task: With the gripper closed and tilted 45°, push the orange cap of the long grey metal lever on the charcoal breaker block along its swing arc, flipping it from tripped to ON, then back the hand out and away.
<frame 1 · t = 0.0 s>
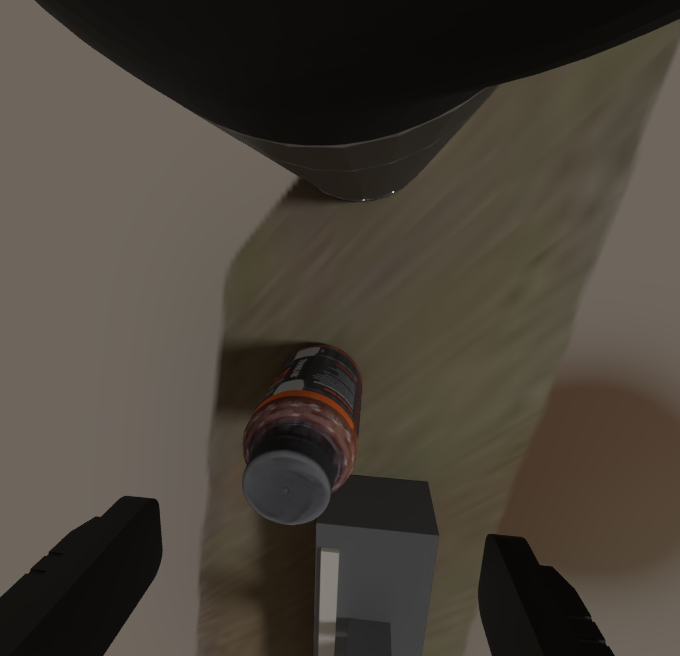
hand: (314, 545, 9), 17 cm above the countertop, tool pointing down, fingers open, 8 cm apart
supplement bottle: (322, 378, 27), on the countertop
breaker block: (368, 583, 31), on the countertop
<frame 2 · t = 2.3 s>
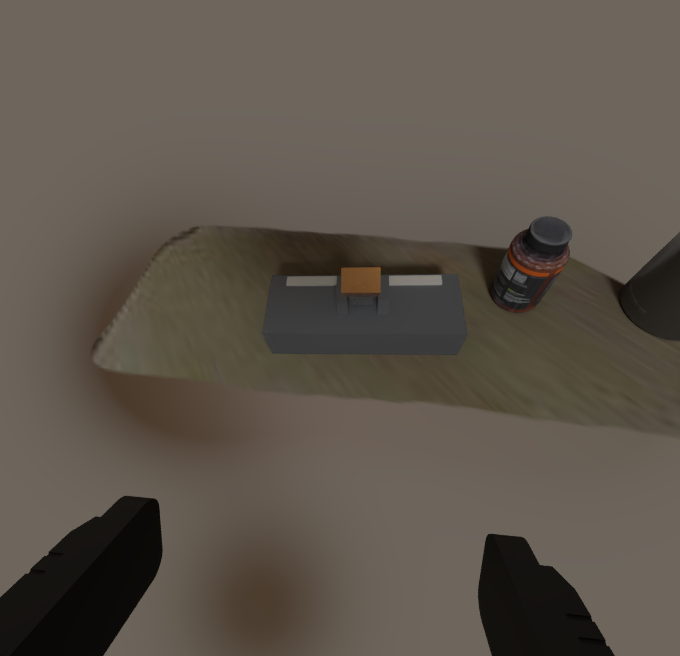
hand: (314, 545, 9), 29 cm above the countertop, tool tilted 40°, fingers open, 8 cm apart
supplement bottle: (512, 295, 46), on the countertop
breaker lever: (362, 290, 33), point 12 cm above the countertop, hinge at -30.0°
breaker block: (363, 325, 45), on the countertop
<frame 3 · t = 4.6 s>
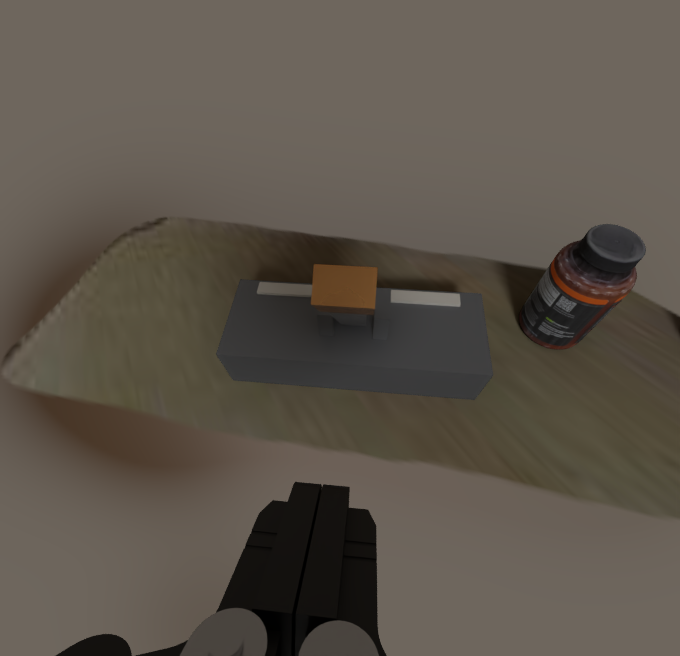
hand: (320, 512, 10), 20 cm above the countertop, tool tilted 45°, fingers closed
supplement bottle: (546, 327, 36), on the countertop
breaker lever: (351, 305, 23), point 12 cm above the countertop, hinge at -30.0°
breaker block: (354, 351, 35), on the countertop
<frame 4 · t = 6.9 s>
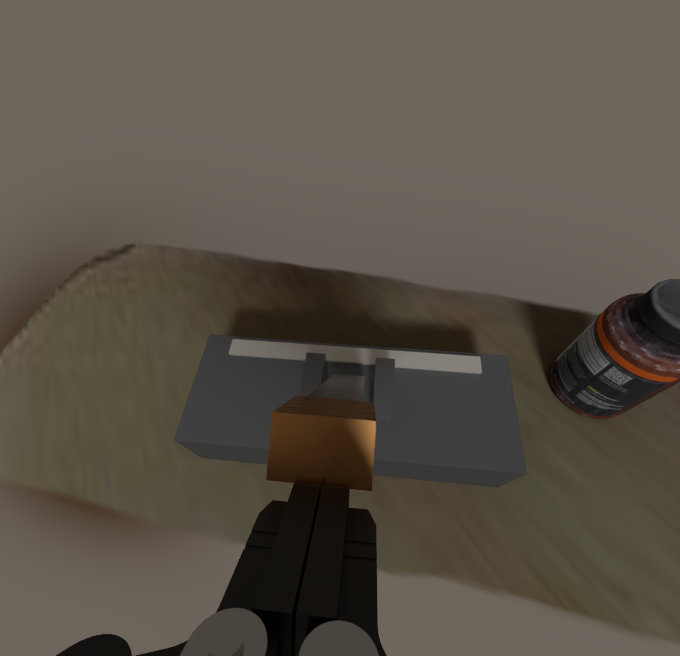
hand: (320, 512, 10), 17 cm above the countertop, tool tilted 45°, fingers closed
supplement bottle: (582, 387, 30), on the countertop
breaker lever: (341, 405, 17), point 12 cm above the countertop, hinge at -29.3°, touching gripper
breaker block: (349, 419, 29), on the countertop
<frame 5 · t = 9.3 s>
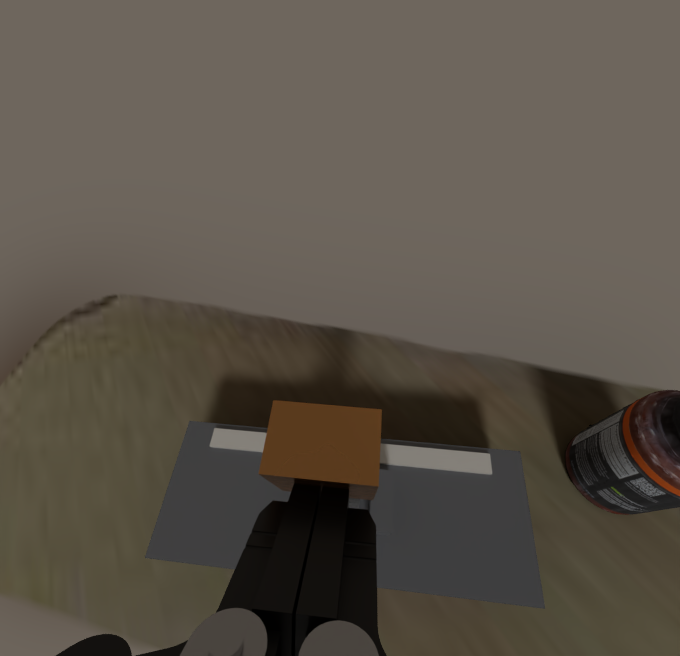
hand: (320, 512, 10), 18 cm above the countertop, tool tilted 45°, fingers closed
supplement bottle: (602, 471, 27), on the countertop
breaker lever: (336, 483, 15), point 13 cm above the countertop, hinge at -1.4°, touching gripper
breaker block: (344, 510, 26), on the countertop
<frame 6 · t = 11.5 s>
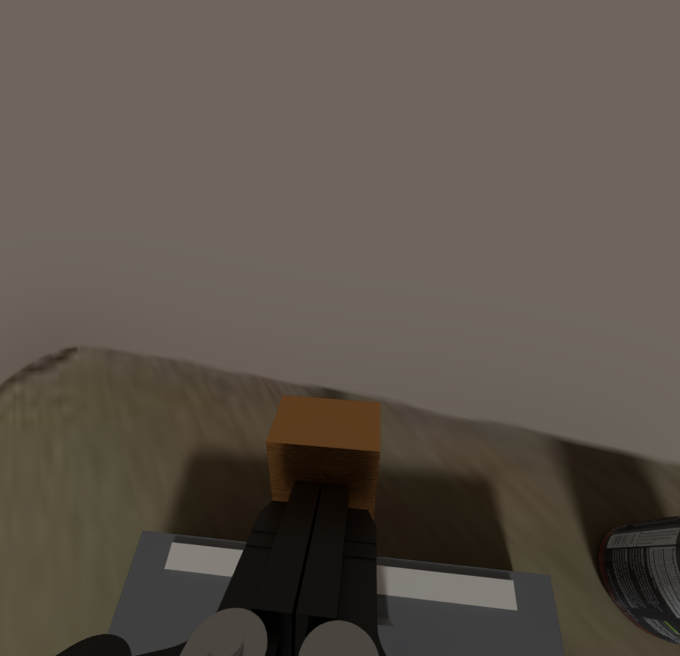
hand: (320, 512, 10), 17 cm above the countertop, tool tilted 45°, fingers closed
supplement bottle: (642, 577, 23), on the countertop
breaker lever: (327, 575, 13), point 12 cm above the countertop, hinge at 28.8°, touching gripper
breaker block: (334, 632, 21), on the countertop
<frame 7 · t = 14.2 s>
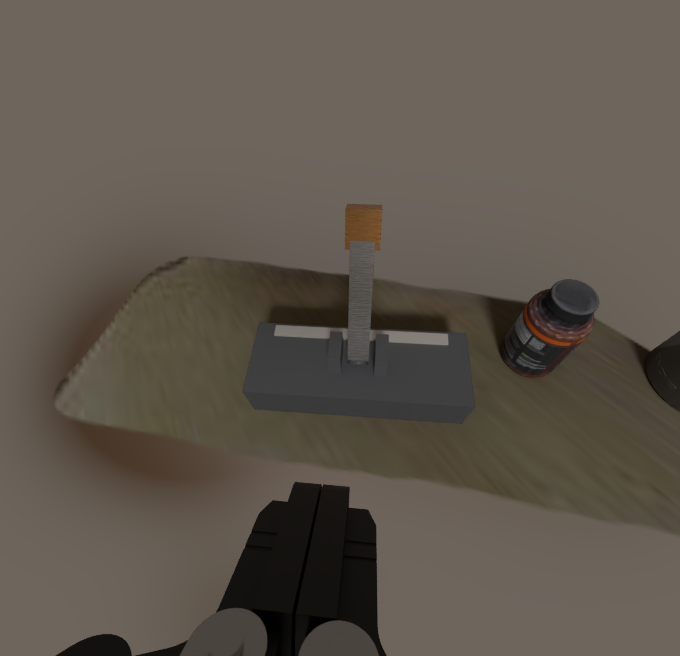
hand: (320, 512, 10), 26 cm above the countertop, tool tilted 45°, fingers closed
supplement bottle: (525, 356, 41), on the countertop
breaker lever: (360, 293, 32), point 12 cm above the countertop, hinge at 28.8°
breaker block: (358, 381, 40), on the countertop
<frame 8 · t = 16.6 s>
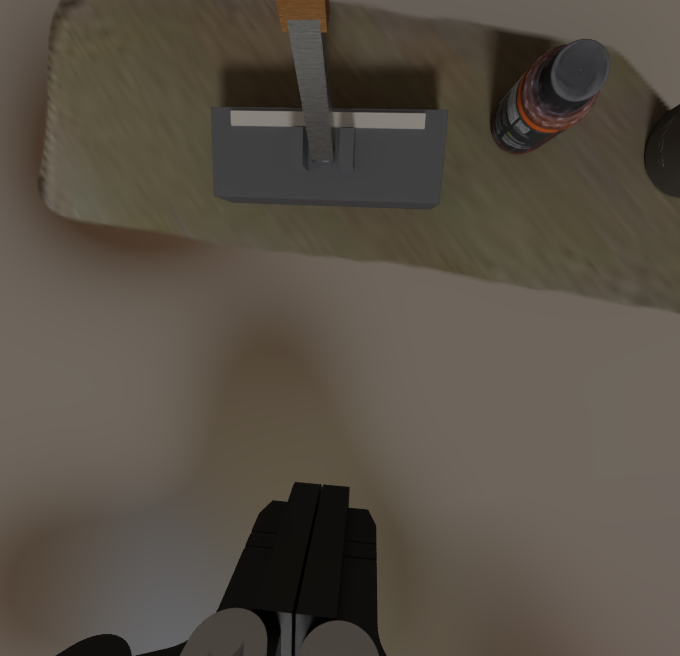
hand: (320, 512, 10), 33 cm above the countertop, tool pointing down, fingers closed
supplement bottle: (518, 125, 37), on the countertop
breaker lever: (314, 85, 26), point 12 cm above the countertop, hinge at 28.8°
breaker block: (331, 167, 39), on the countertop
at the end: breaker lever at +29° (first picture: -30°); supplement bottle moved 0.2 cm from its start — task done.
